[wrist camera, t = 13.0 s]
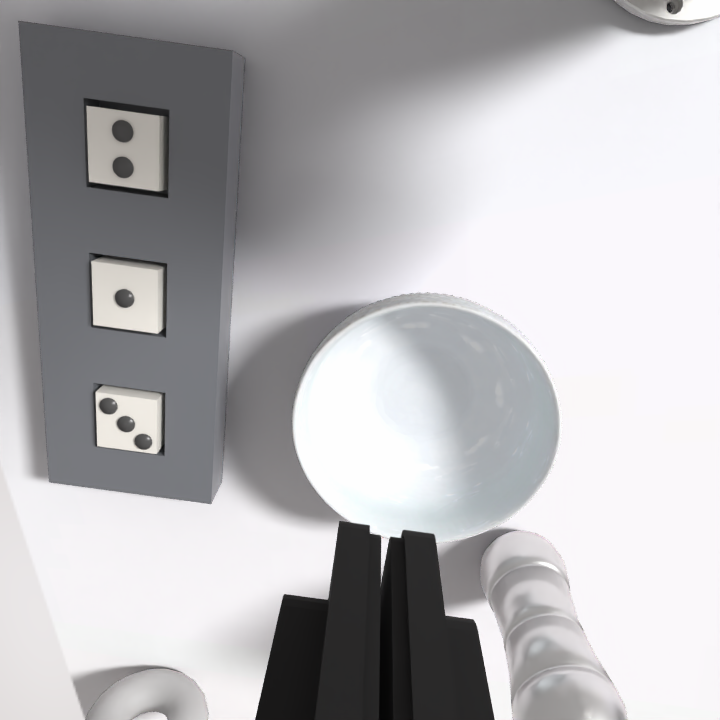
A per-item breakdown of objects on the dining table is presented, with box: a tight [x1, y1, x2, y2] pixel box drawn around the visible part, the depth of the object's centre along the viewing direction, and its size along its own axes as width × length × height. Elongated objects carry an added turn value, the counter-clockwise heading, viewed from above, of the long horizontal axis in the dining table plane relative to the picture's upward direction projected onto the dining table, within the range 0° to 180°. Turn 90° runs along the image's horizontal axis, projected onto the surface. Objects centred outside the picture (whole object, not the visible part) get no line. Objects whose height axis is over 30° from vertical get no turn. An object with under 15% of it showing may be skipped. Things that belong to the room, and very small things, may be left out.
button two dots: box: [86, 106, 169, 191], centre depth 35 cm, size 4×4×2 cm
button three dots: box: [96, 385, 165, 454], centre depth 42 cm, size 4×4×3 cm
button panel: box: [19, 21, 245, 504], centre depth 39 cm, size 30×12×3 cm, turn 173°
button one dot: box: [91, 255, 167, 334], centre depth 39 cm, size 4×4×2 cm
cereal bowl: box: [291, 292, 562, 544], centre depth 39 cm, size 17×17×7 cm
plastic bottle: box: [480, 531, 628, 720], centre depth 38 cm, size 6×7×20 cm
